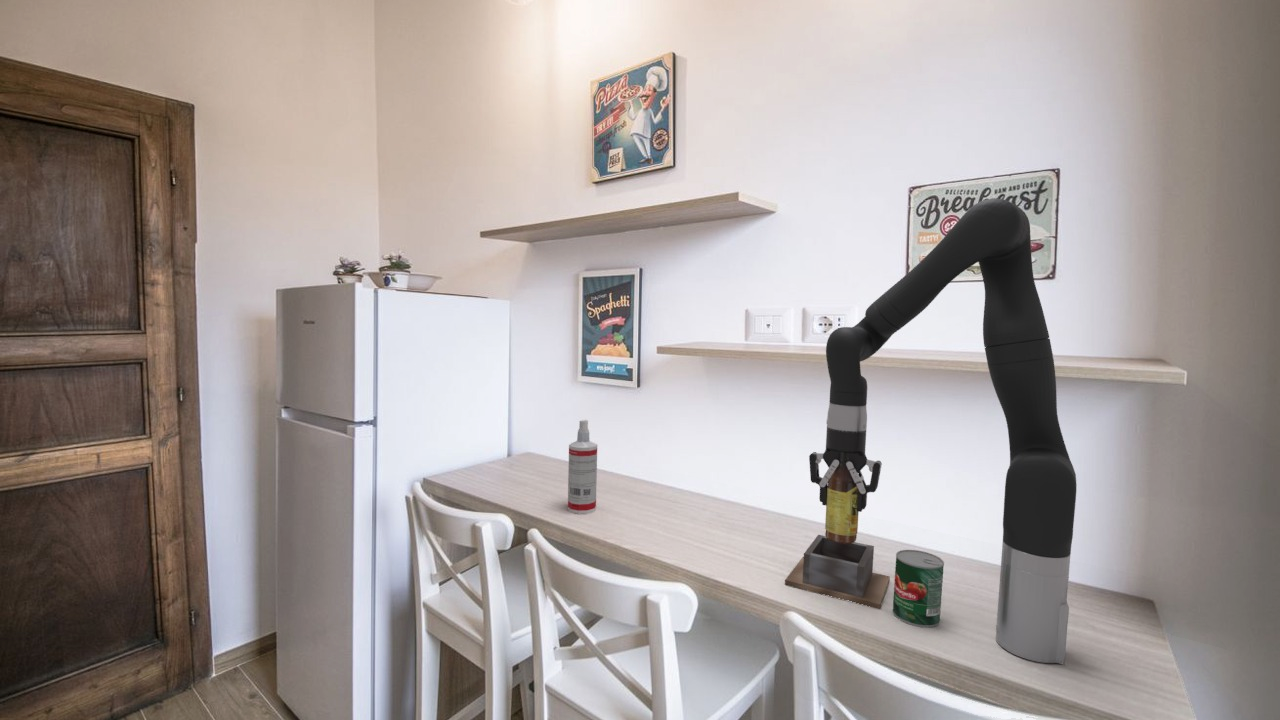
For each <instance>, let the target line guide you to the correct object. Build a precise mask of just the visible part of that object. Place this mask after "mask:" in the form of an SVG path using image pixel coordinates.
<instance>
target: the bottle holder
mask: <svg viewBox="0 0 1280 720" xmlns="http://www.w3.org/2000/svg"><path fill="white" fill-rule="evenodd" d="M874 551H875V545H871V544H866V543H860V542H856V541H855V542H853V543H848V544H843V543H837V542H833V541H831V540H829V539H828V538H827V537H826V535H822V534H817V536H816V537H815V539H813V541H812V542H811V544H810V545H809V546H808V547H807V549H806V550H805V552H803V556H802V557H801V559H799V561H798V562H797V563H796V565H795V566H794V567H793V569H792V570H791V572H790V573H789V574H788V575H787V577H786V578H785V580H784V585H785V586H788V587H791V586H793V587H792V588H795V587H797V588H796V589H799V588H800V589H799V590H803V589H804V591H807V590H808V591H807V592H812V593H815V594H818V593H819V595H822V594H825V595H824V596H826V595H829V596H828V597H830V596H832V597H831V598H834V597H836V598H835V599H838V598H840V599H839V600H842V599H844V600H843V601H846V600H849V601H852V602H851V603H853V602H856V603H855V604H857V603H859V604H858V605H861V604H863V605H862V606H865V605H867V606H866V607H869V606H870V608H873V609H877V610H881V607H882V604H883V602H884V599H885V596H886V592H887V589H888V587H889V584H890V581H891V576H889V575H885V574H881V573H877V572H873V570H874V569H873V568H874V567H873V566H874V554H875V553H874ZM849 601H848V602H849Z"/></svg>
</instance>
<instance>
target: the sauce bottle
mask: <svg viewBox="0 0 1280 720" xmlns="http://www.w3.org/2000/svg"><path fill="white" fill-rule="evenodd" d="M838 459H839V461H840V464H839V465H838V467H837V468H836V470H835V471H834V473H833V474H832V475H831V477H830V479H829V481H828V487H827V502H826V506H825V523H824V524H825V527H824V529H825V533H824V536H826V537H827V538H828V539H829V540H831V541H833V542H837V543H843V544H848V543H853V542H856V541H857V535H858V529H859V514H860V513H859V511H857V509H858V493H859V489H858V487H857V485H856V484H855V482H854V480H853V478H852V476H851V473H850V471H849V470H848V468H847V465H846V463H847V462H848V460H849V454H848V453H844V452H839V455H838Z"/></svg>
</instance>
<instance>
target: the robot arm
mask: <svg viewBox="0 0 1280 720" xmlns="http://www.w3.org/2000/svg"><path fill="white" fill-rule="evenodd" d="M1031 238H1032V237H1031V224H1030V220H1029V217H1028V216H1027V214H1026V212H1025V211H1024V210H1023V209H1022V208H1021V207H1019V206H1018V205H1016V204H1014V203H1013V202H1011V201H1009V200H1008V199H1007V200H1006V199H1003V198H993V197H992V198H986V199H983V200H979V202H977V203H975V204H974V205H972V206H971V207H970V208H968V210H967V211H966V212H965V213H964V214H963V215H962V216H961V218H959V220H958V221H956V223H955V224H954V226H952V228H950V230H949V232H947V233H946V234H945V236H944V237H943V238H942V239H941V240H940V241H939V243H937V245H935V247H933V249H932V250H931V251H930V252H929V253H928V254H927V255H926V256H925V257H924V258H922V260H921V261H920V262H919V263H917V265H915V266H914V267H913V268H912V269H911V270H909V272H907V273H906V274H905V275H904V276H903V277H902V278H900V280H898V281H897V282H896V283H894V285H892V286H890V288H889V289H887V290H886V291H885V292H884V293H883V294H882V295H880V296H879V297H878V298H877V299H876V300H874V301H873V302H872V303H871V304H870V305H869V306H868V307H867V308H866V309H865V315H864V317H863V318H862V319H861V320H860V321H859V322H858V323H857V324H855V325H854V326H851V327H850V326H849V327H848V326H843V327H838V328H836V329H835V330H834V329H833V331H832V332H831V333H830V335H829V337H828V339H827V342H826V347H825V356H826V364H827V370H828V375H829V379H830V386H829V387H830V389H829V403H828V410H827V417H826V436H825V437H826V438H825V450H824V452H822V453H820V452H819V453H818V452H816V451H813V452H812V453H810V454H809V456H808V458H809V460H808V461H809V472H810V482H811V483H813V484H817V485H818V486H819V502H821V504H822V506H825V507H826V502H827V487H828V481H829V479H830V477H831V475H832V474H833V473H834V471H835V470H836V468H837V467H838V465H839V464H840V461H839V459H838V455H839V452H844V453H848V454H849V460H848V462H847V463H846V465H847V468H848V470H849V471H850V473H851V476H852V478H853V480H854V482H855V484H856V485H857V487H858V489H859V493H858V509H857V511H859V512H860V513H861V512H862V511H863V510H865V509H866V507H867V505H868V504H867V502H868V501H867V500H868V493H875V492H876V491H877V489H878V486H879V481H880V476H881V470H882V465H883V464H882V461H881V460H876V461H875V460H872V459H868V457H867V455H866V445H867V443H866V442H867V425H868V423H867V422H868V414H867V413H868V411H867V410H868V409H867V404H868V403H867V400H868V382H867V381H868V380H867V379H866V378H865V377H864V376H862V371H861V362H864V361H866V360H868V359H869V358H870V357H872V356H873V355H874V354H876V353H877V352H879V350H880V349H881V348H882V347H883V346H884V345H885V344H886V343H887V342H888V341H889V339H890V338H891V337H892V336H893V335H894V334H896V333H897V332H899V330H901V329H902V328H903V327H905V326H906V325H907V324H908V323H910V322H912V320H914V319H915V318H916V317H918V315H920V314H921V313H922V312H923V311H924V310H925V309H926V308H927V307H928V306H930V304H931V303H932V302H933V301H934V300H935V299H936V298H937V296H938V295H939V294H940V293H941V292H942V291H943V290H944V289H945V288H946V287H947V286H948V285H949V284H950V283H952V282H953V280H955V278H957V277H958V276H959V275H961V274H962V273H963V272H965V271H966V270H967V269H969V268H970V267H972V266H974V265H975V264H977V263H978V265H979V268H980V272H981V278H982V279H983V280H982V281H983V286H984V307H983V320H982V321H983V322H982V336H983V337H982V338H983V347H984V351H985V358H986V364H987V367H988V371H989V374H990V375H989V376H990V379H991V382H992V386H993V387H994V391H995V393H996V397H997V399H998V401H999V405H1000V406H1001V408H1002V411H1003V415H1004V417H1005V421H1006V428H1007V432H1008V433H1007V434H1008V442H1009V443H1008V445H1009V466H1008V469H1007V470H1006V471H1007V472H1006V476H1005V483H1004V499H1003V500H1004V501H1003V517H1002V520H1003V521H1002V529H1003V531H1002V532H1003V533H1002V543H1001V544H1002V545H1001V547H1002V548H1001V557H1000V558H1001V560H1000V574H999V585H998V586H999V589H998V598H997V599H998V601H997V602H998V603H997V612H996V613H997V614H996V615H997V617H996V624H995V640H996V642H997V644H998V645H999V646H1001V648H1003V649H1004V650H1005V651H1007V652H1009V653H1010V654H1012V655H1015V656H1017V657H1020V658H1023V659H1026V660H1029V661H1033V662H1038V663H1044V664H1045V663H1046V664H1053V663H1056V664H1061V665H1065V662H1066V661H1065V660H1066V648H1067V637H1068V626H1069V625H1068V623H1069V614H1070V613H1069V612H1070V607H1069V603H1068V592H1069V591H1068V589H1069V578H1070V577H1069V575H1070V566H1071V565H1070V564H1071V554H1072V553H1071V552H1072V542H1073V537H1074V523H1075V514H1076V513H1075V511H1076V500H1077V477H1076V476H1077V474H1076V471H1075V468H1074V465H1073V463H1072V461H1071V458H1070V455H1069V452H1068V450H1067V447H1066V444H1065V440H1064V437H1063V433H1062V429H1061V426H1060V421H1059V417H1058V405H1057V404H1058V402H1057V377H1056V368H1055V361H1054V354H1053V349H1052V344H1051V339H1050V334H1049V330H1048V326H1047V322H1046V317H1045V313H1044V311H1043V306H1042V303H1041V300H1040V297H1039V292H1038V289H1037V285H1036V283H1035V278H1034V269H1033V260H1032V246H1031V245H1032V244H1031ZM822 460H823V461H824V462H825V464H826V465H827V468H828V469H827V471H826V472H825V473H824V475H823V477H821V476H820V469H819V468H820V467H819V464H820V463H821V462H822ZM866 466H867V467H868V470H869V472H871V475H870V476H871V477H870V482H869V484H867V483H866V480H865V478H864V476H863V473H862V471H861V470H863V469H864V467H866Z"/></svg>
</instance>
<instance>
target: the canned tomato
mask: <svg viewBox="0 0 1280 720" xmlns="http://www.w3.org/2000/svg"><path fill="white" fill-rule="evenodd" d="M944 566H945V562H944V560H943V559H942V558H941V557H939V556H937V555H935V554H933V553H930V552H927V551H922V550H917V549H901V550H899V551H897V552H896V553H895V566H894V567H895V571H894V582H893V583H894V584H893V585H894V587H893V602H892V610H891V611H892V614H893V616H894V617H895V618H897V619H898V620H899V619H900V620H899V621H901V622H903V623H905V624H908V625H911V626H913V627H919V628H935V627H937V626H939V625H940V622H941V610H942V593H943V582H944V581H943V578H944Z"/></svg>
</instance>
